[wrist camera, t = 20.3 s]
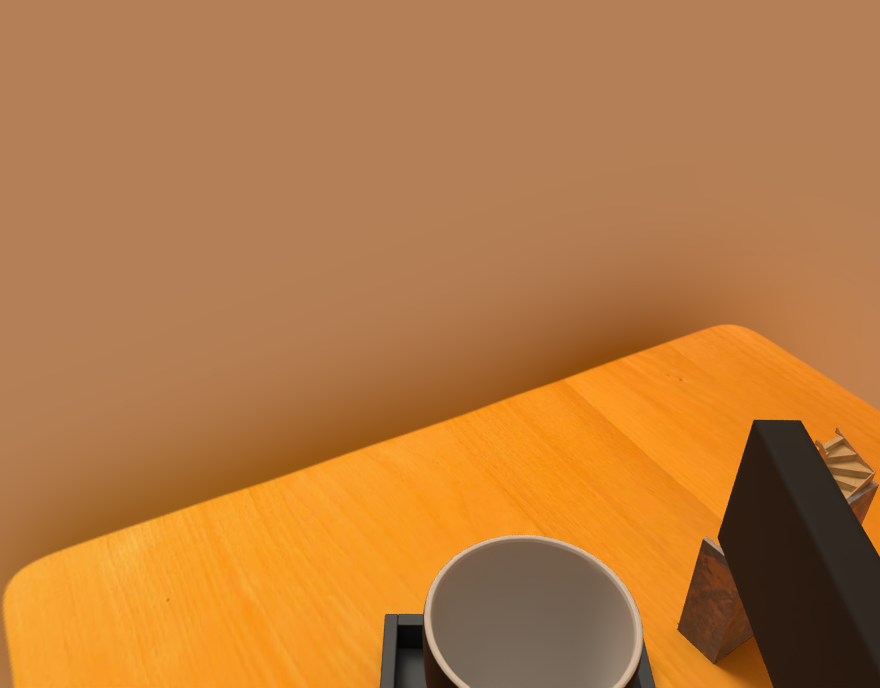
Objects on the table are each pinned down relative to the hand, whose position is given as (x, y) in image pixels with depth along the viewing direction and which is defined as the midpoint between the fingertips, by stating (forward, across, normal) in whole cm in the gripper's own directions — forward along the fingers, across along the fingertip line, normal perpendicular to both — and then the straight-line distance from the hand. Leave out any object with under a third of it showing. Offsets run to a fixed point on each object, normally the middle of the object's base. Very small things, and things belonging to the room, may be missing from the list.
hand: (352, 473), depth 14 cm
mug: (+9, +6, -28) cm, 30 cm away
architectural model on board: (+20, +21, -29) cm, 41 cm away
